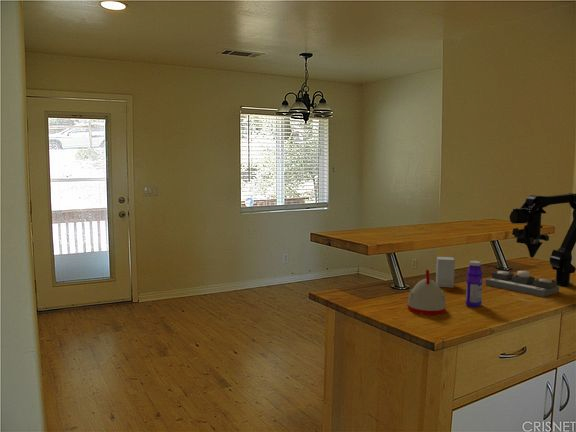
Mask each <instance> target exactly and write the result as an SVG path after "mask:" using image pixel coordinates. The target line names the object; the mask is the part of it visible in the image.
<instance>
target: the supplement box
mask: <svg viewBox="0 0 576 432" xmlns="http://www.w3.org/2000/svg"><path fill="white" fill-rule="evenodd" d="M455 264H456V259H455V258H454V257H451V256H436V263H435V266H436V268H435V283H436V284H437V285H438V286H439V287H440V288H455V267H456V266H455Z"/></svg>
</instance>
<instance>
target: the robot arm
mask: <svg viewBox="0 0 576 432" xmlns="http://www.w3.org/2000/svg"><path fill="white" fill-rule="evenodd" d="M561 204H569V207H570V208H571V209H573V210H572V221H571V224H570V226H569V228H568V230H567V231H566V234H565V236H564V238H563V241H562V242H561V244H560V247H559V248H558V249H553V250H552V251H551V252H552V253H551V255H550V256H549V263H550V265H551V268H552V270H555V281H557V286H562V287H569V286H572V285H573V284H574V283H573V282H571V274H575V272H576V267H575V266H574V265H573V264H572V260H573V254H572V252H573V250H574V248H575V245H576V193H574V192H573V193H571V192H570V193H569V192H568V193H563V194H557V195H556V194H555V195H546V196H545V195H534V194H531V195H528V196H527V197H526V199H525V201H524V202H523V204H522V205H521V206H520V208H517V207H513V208H512V211H511V212H510V215H509V221H510V223H512V225H513V224H524V226H523V228H521V229H519V227H516V228H513V229H512V234H511V235H513V236H514V238H516V241H515V242H516V243H518V244H524V245H526V248H527V250H528V254H529V257H530V258H534V257H535V256H536V254H537V252H538V250H539V249H540V247H541V246H542V244H543V241H545V242H549V241H550V236H549V235H548V234H547V233H546V234H545V233H541V230H542V229H543V228H544V227H543V225H542V214H547V211H546V210H544V208H547V207H549V206H552V205H561Z"/></svg>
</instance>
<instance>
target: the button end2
mask: <svg viewBox="0 0 576 432" xmlns="http://www.w3.org/2000/svg"><path fill="white" fill-rule="evenodd" d="M538 279H539V281H542V282H547V283H550V282H552V280H553V279H549V278H543V279H540V278H538Z"/></svg>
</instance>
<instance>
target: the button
mask: <svg viewBox="0 0 576 432" xmlns="http://www.w3.org/2000/svg"><path fill="white" fill-rule="evenodd" d="M496 272H497V273H498V274H504V275H507V274H509V271H504V270H497V271H496Z"/></svg>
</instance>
